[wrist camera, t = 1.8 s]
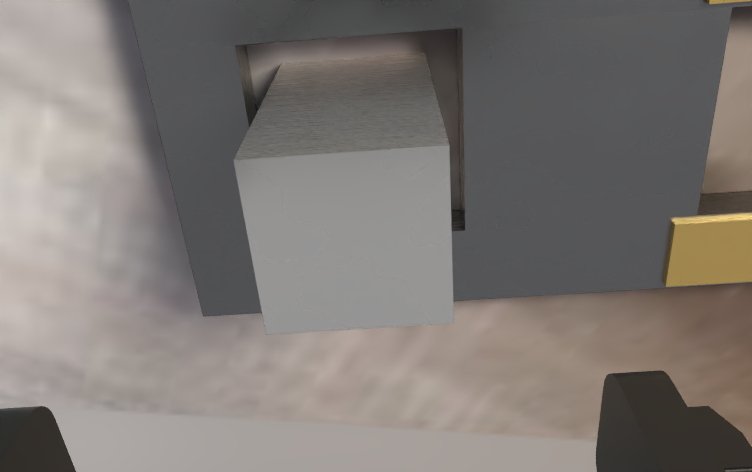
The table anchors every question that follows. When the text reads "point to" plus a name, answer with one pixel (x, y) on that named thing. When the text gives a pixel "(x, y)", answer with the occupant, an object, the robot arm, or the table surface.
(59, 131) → the table surface
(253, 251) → the steel block
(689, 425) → the robot arm
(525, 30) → the fixture plate
